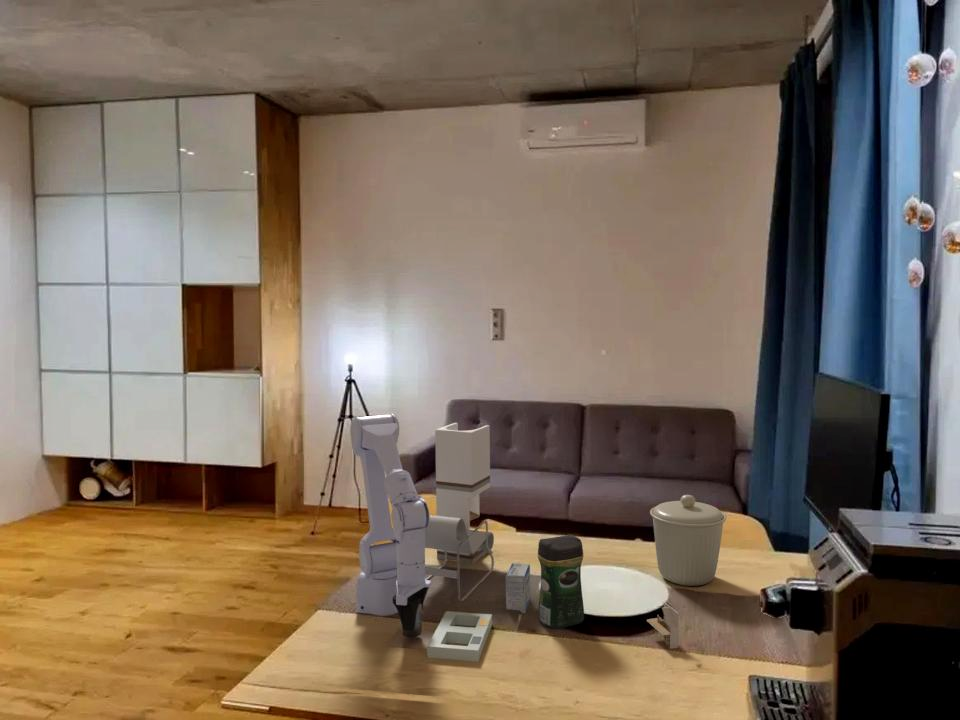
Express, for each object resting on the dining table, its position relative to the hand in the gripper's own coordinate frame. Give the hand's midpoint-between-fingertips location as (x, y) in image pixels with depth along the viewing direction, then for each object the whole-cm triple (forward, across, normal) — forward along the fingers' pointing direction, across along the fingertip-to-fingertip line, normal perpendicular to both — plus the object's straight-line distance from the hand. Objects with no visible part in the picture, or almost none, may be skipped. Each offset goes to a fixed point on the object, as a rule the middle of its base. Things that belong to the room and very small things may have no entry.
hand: (411, 624), depth 150 cm
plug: (+2, 0, 0) cm, 2 cm away
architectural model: (+4, +9, -51) cm, 52 cm away
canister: (+4, +44, -58) cm, 73 cm away
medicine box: (+4, +21, -19) cm, 29 cm away
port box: (+4, +1, -10) cm, 11 cm away
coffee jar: (+4, +15, -29) cm, 33 cm away
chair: (+4, +32, -1) cm, 32 cm away
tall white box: (+4, +52, 0) cm, 52 cm away
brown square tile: (+4, 0, 0) cm, 4 cm away
